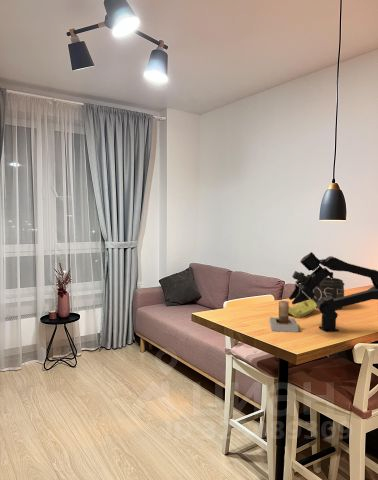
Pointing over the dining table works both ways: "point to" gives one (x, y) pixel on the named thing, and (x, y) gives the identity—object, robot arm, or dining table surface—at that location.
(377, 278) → the robot arm
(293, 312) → the plastic component
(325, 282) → the patterned black pot
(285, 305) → the walnut peg
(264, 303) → the dining table surface
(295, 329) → the hole plate
